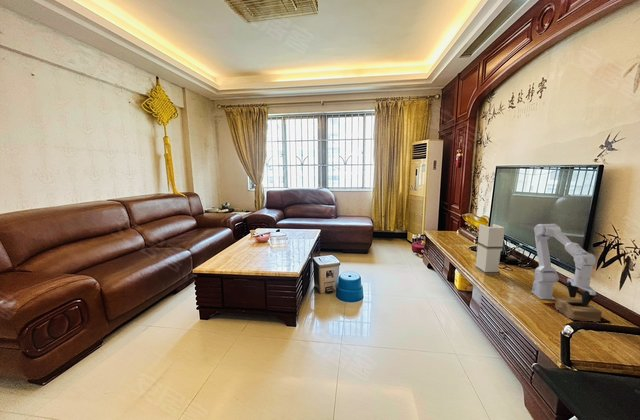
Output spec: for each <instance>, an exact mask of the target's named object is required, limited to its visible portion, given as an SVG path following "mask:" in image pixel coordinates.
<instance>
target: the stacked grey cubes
mask: <svg viewBox="0 0 640 420" xmlns="http://www.w3.org/2000/svg"><path fill="white" fill-rule="evenodd" d="M477 237H478V238H477V247H476V248H477V249H476V258H475V259H476V260H475V269H476V270H477V271H479V272H481V274H483V275H484V276H486V275H487V276H489V275H500V274H501V273H500V272H501V271H499V270H500V268H499V267H500V259H501V252H503V248H504V239H505V238H504V237H505V226H501V225H498V224H496V223H492V226H487V225H484V224H482V223H479V228H478V235H477Z"/></svg>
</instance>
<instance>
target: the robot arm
mask: <svg viewBox="0 0 640 420" xmlns="http://www.w3.org/2000/svg"><path fill="white" fill-rule="evenodd" d="M533 231H534V241H535V247H536V254H537V259H538V260H537V261H538V266H537V267H536V268H535V269H534V280H533V282H532V289H531V290H530V292H531V293H532V294H533V295H535V296H537V298H539V299H540V300H555V301H556V298H555V297H554V296H553V293H554V285H555V284H556V283H557V282H558V281H559V277H560V276H559V275H558V272H557V269H555V268H554V267H553V266H552V263H551V257H550V256H551V255H550V249H549V244H548V240H549V239H550V238H551V237H552V238H555V239H556V240H557V241H558V242H560V243H561V245H563V246H564V250H565V251H566V252H567V253H568V254H569V255H570V256H572V257H573V262H574V264H575V265H574V266H575V272H574V277H573V278H567V279H566V280H567V281H566V283H565V286H566V289H567V291H568V295H569V297H570V298H571V299H576V296H577V292H578V290H579V289H581V290H583V291H580V294H581V299H582V305H588V304H590V303H591V301H592V300H593V299H594V298H595V297H597V291H595V289H593V288H592V287H591V286H590V283H591V278H592V273H593V268H594V266H595V265H597V263H598V258H597V257H596V255H594V254H593V253H590V252H588V251H586V250H585V249H584V248H582V246H580V244H579V243H577V242H572V241H571V240H570V239H569V238H568V237H567V235H566V234H564V232H563V231H562V228H561V227H560V226H559V225H558V224H556V223H539V224H536V225H535V226H534V228H533Z"/></svg>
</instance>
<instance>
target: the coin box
mask: <svg viewBox="0 0 640 420" xmlns="http://www.w3.org/2000/svg"><path fill="white" fill-rule="evenodd" d="M555 299H556V300H555V302H554V309H555V308H556V310H557V311H558V310H559V311H558V312H560V313H561V314H562V313H563V314H562V315H563V316H565V317H567V318H568V319H569V318H571V319H573V320H581V321H580V322H582V321H583V322H584V321H585V322H586V321H593V322H592V323H597V322H596V321H600V322H601V318H602V313H603V312H602V311H601V310H600V309H598V308H596V307H595V306H593V305H591V303H589V304H588V305H582V298H568V297H567V298H564V297H556V298H555ZM571 305H573V306H581V307H573V306H571ZM571 319H570V320H571ZM585 322H584V323H585ZM586 323H587V322H586Z"/></svg>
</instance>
